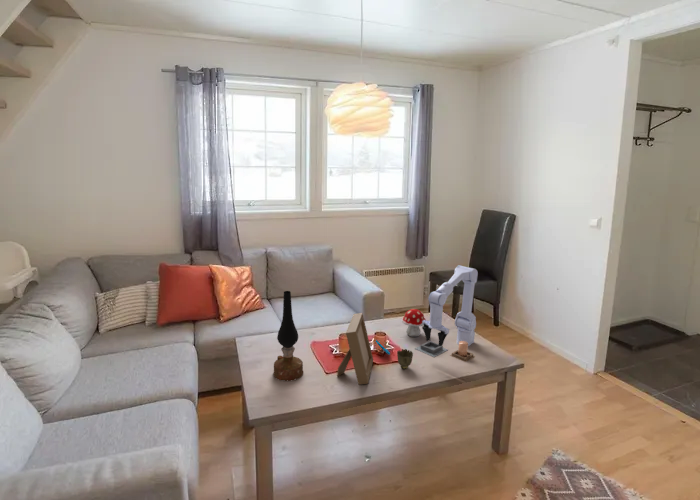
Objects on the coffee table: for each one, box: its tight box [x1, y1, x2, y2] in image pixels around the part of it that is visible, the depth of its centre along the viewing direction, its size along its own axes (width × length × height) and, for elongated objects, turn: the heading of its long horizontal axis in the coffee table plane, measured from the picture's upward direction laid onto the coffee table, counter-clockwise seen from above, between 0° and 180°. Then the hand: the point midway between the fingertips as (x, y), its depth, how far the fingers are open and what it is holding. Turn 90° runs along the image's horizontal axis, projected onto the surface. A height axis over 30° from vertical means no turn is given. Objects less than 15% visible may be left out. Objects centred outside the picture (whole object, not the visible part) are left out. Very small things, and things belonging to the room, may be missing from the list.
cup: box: [396, 348, 414, 370], centre depth 198 cm, size 8×7×8 cm
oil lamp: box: [272, 290, 304, 382], centre depth 187 cm, size 14×15×40 cm
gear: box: [375, 339, 391, 356], centre depth 213 cm, size 11×6×10 cm
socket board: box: [414, 340, 449, 358], centre depth 216 cm, size 12×12×3 cm
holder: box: [449, 349, 476, 363], centre depth 210 cm, size 9×9×2 cm
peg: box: [457, 341, 469, 358], centre depth 209 cm, size 4×4×7 cm
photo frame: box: [336, 312, 374, 385], centre depth 192 cm, size 15×22×25 cm
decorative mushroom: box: [401, 308, 427, 338], centre depth 235 cm, size 14×14×15 cm
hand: (434, 342), depth 204 cm, fingers open, 7 cm apart
